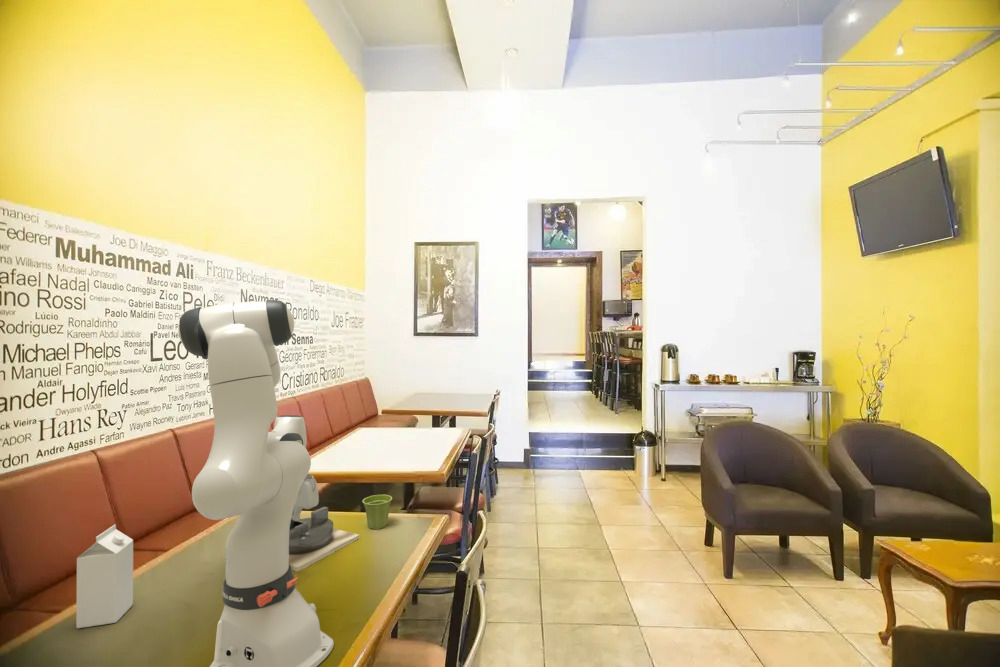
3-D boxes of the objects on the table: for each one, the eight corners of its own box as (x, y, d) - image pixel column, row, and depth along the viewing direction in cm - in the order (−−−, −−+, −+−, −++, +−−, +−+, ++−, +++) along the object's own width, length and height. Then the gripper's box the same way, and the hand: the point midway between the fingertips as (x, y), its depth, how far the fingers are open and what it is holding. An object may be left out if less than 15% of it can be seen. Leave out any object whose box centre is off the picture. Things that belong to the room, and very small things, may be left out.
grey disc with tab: (345, 535, 135) (344, 511, 135) (299, 558, 121) (299, 531, 121) (308, 526, 142) (308, 503, 142) (262, 547, 128) (262, 521, 128)
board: (359, 538, 136) (359, 534, 136) (297, 571, 117) (297, 566, 117) (310, 526, 146) (310, 522, 146) (245, 554, 127) (245, 549, 127)
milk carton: (75, 629, 94) (76, 539, 94) (96, 610, 101) (96, 526, 101) (115, 623, 96) (116, 534, 96) (133, 605, 103) (133, 522, 103)
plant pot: (360, 523, 148) (360, 497, 148) (389, 518, 152) (389, 492, 152) (364, 533, 140) (364, 506, 140) (395, 528, 144) (394, 501, 144)
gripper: (324, 472, 126) (324, 521, 126) (276, 463, 135) (276, 509, 135) (305, 478, 121) (305, 529, 120) (257, 469, 130) (257, 516, 130)
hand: (289, 518), depth 128 cm, fingers closed on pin, 3 cm apart
